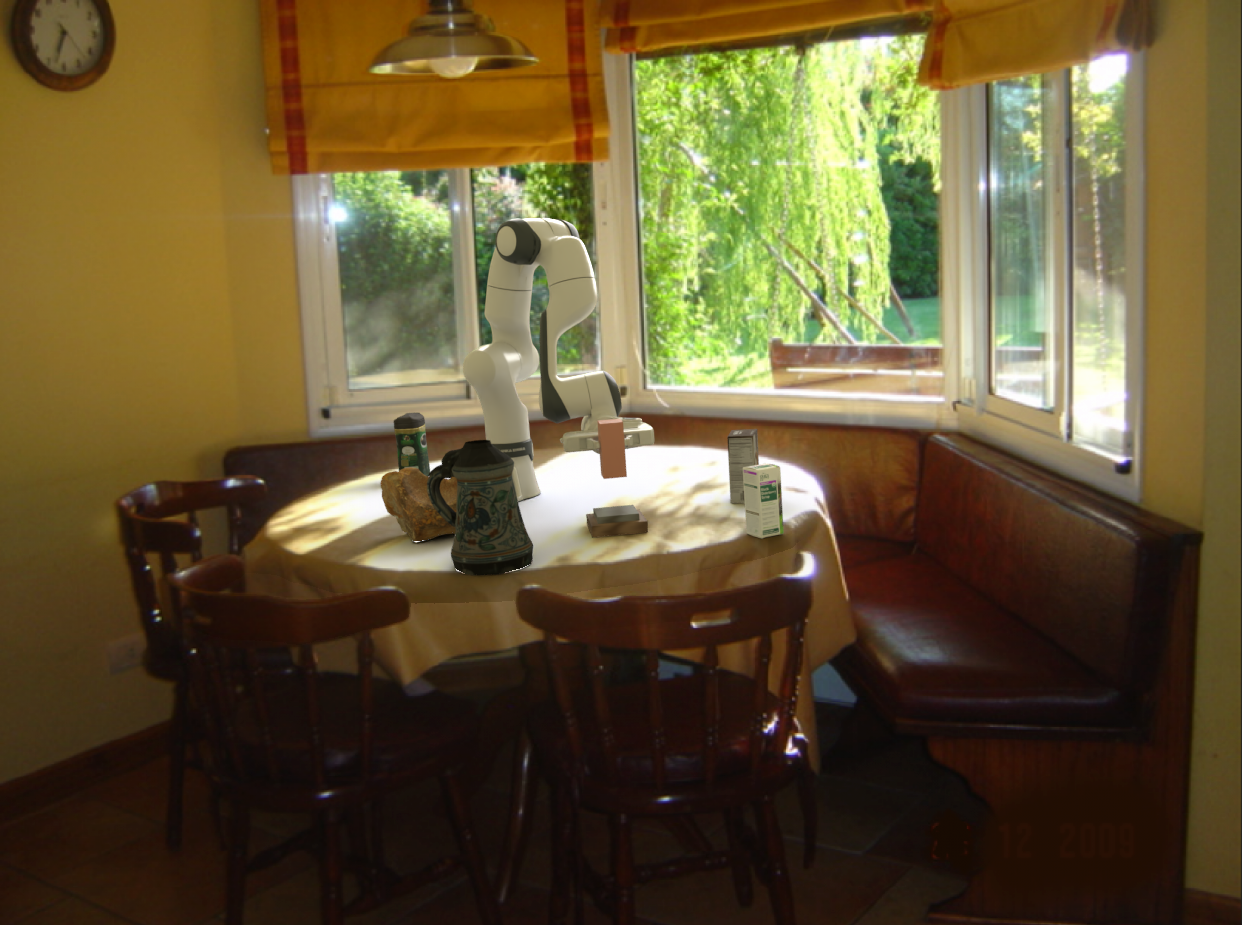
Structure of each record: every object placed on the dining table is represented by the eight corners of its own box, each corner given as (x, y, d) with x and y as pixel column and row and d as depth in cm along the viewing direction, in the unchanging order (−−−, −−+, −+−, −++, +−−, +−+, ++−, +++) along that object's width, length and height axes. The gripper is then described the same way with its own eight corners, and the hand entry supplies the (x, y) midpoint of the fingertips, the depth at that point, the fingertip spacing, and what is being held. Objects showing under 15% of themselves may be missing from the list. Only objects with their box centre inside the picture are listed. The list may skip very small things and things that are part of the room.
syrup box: (761, 539, 244) (758, 469, 242) (745, 533, 249) (742, 465, 247) (784, 534, 247) (781, 465, 244) (767, 529, 252) (765, 462, 249)
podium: (592, 537, 254) (591, 519, 253) (586, 524, 266) (585, 507, 265) (648, 532, 256) (646, 514, 255) (639, 520, 267) (638, 502, 267)
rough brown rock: (374, 552, 257) (368, 486, 253) (387, 528, 273) (382, 465, 269) (482, 549, 257) (478, 482, 253) (488, 524, 273) (485, 462, 269)
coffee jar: (407, 475, 338) (400, 411, 335) (433, 475, 337) (427, 410, 334) (395, 483, 329) (388, 416, 325) (422, 482, 328) (416, 415, 324)
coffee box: (734, 495, 287) (731, 429, 284) (760, 494, 285) (757, 428, 282) (729, 503, 278) (726, 435, 275) (757, 503, 277) (754, 435, 274)
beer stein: (542, 569, 232) (532, 443, 228) (443, 583, 227) (431, 454, 222) (524, 549, 248) (515, 431, 243) (431, 562, 243) (420, 441, 238)
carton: (603, 479, 256) (599, 423, 254) (601, 474, 261) (597, 420, 258) (626, 476, 256) (623, 421, 254) (623, 472, 261) (620, 418, 259)
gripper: (558, 425, 268) (563, 434, 255) (647, 417, 270) (657, 426, 257) (560, 452, 269) (565, 463, 256) (649, 444, 272) (659, 454, 258)
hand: (612, 444), depth 256 cm, fingers closed on carton, 5 cm apart
